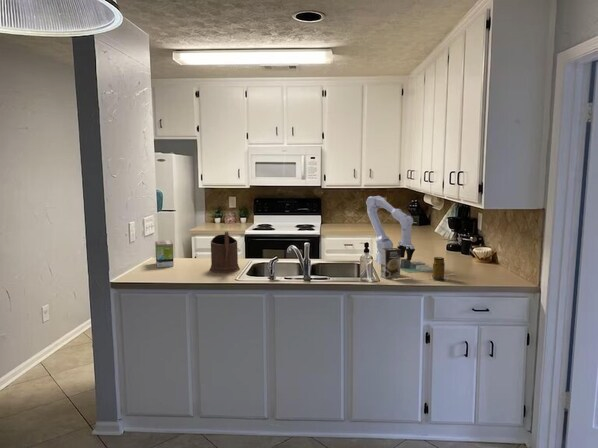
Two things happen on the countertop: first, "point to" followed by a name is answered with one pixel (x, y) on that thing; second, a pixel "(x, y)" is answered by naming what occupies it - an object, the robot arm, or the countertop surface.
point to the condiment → (438, 269)
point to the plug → (405, 263)
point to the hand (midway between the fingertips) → (405, 258)
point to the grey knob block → (416, 263)
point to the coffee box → (390, 262)
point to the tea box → (164, 254)
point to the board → (418, 268)
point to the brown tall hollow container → (224, 254)
